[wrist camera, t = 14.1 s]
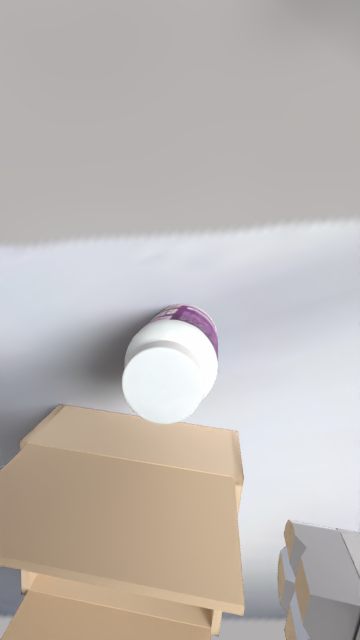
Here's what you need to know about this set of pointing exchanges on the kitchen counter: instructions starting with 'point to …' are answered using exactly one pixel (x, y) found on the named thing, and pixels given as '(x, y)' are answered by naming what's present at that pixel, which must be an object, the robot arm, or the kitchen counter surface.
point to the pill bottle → (171, 364)
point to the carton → (122, 528)
